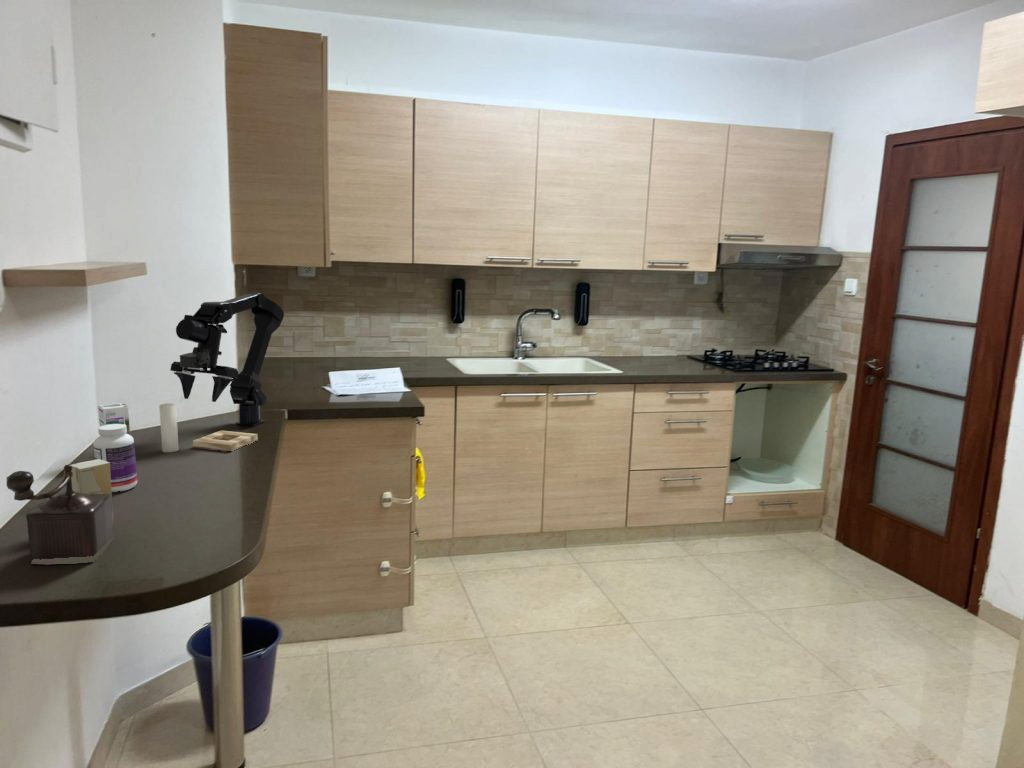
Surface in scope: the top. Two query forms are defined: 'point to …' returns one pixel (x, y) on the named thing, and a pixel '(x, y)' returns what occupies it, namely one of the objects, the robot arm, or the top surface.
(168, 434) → the peg
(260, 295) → the robot arm
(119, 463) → the pill bottle
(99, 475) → the skincare box
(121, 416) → the syrup box
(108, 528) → the manual coffee grinder
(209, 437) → the socket block
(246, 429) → the top surface
